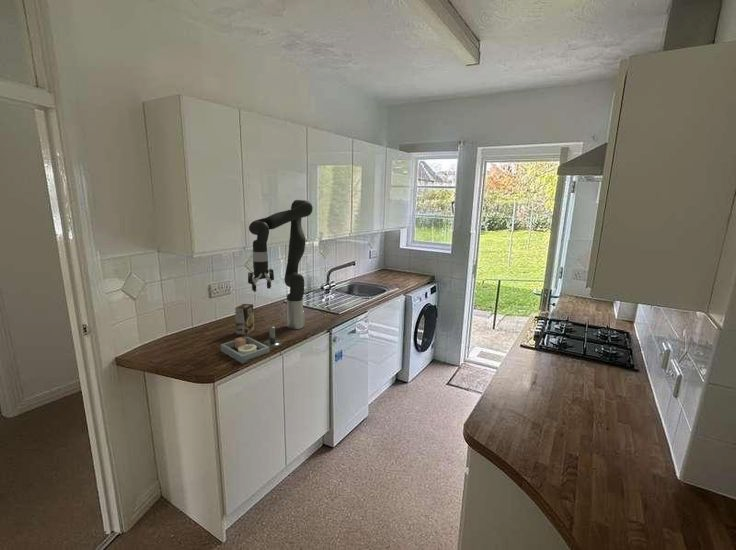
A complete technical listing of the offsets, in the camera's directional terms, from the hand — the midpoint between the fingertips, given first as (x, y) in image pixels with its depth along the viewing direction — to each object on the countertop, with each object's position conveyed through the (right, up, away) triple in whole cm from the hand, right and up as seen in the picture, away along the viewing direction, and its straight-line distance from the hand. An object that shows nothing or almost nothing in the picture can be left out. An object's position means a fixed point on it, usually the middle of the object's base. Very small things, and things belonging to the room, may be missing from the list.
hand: (261, 289), depth 191 cm
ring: (-5, -30, -11) cm, 33 cm away
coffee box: (-13, -25, +14) cm, 32 cm away
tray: (-5, -31, -11) cm, 33 cm away
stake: (+6, -29, -1) cm, 30 cm away
